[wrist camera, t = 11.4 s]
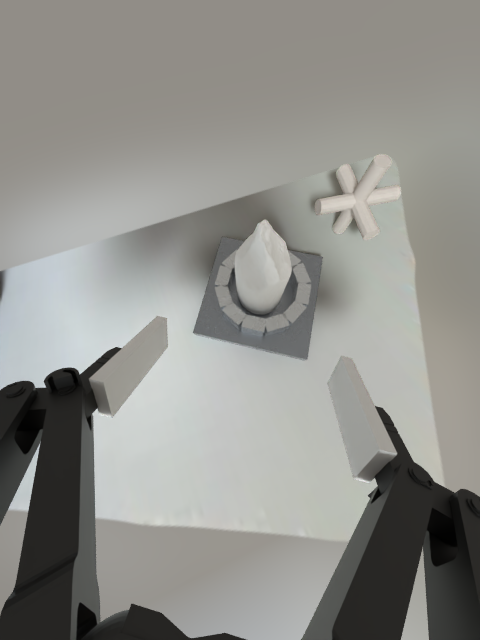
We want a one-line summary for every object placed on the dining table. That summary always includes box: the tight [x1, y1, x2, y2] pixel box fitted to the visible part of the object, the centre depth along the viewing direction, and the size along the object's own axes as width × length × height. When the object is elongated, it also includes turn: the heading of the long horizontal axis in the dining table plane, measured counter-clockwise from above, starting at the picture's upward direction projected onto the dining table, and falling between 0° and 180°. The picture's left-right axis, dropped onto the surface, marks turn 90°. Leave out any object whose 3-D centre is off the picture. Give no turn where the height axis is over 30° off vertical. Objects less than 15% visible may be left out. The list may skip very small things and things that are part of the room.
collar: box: [193, 237, 323, 360], centre depth 26 cm, size 14×14×4 cm
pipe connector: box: [315, 154, 401, 240], centre depth 26 cm, size 10×10×10 cm
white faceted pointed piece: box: [235, 220, 292, 315], centre depth 21 cm, size 6×12×6 cm
